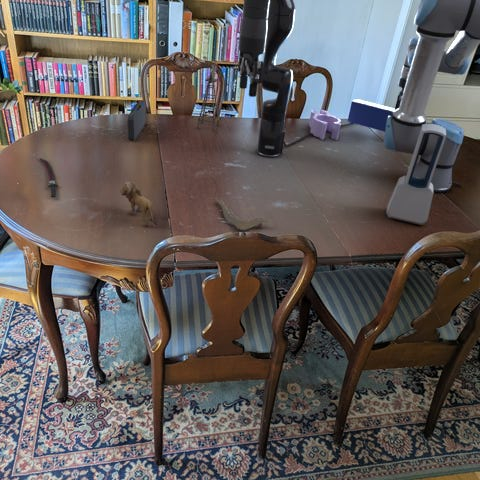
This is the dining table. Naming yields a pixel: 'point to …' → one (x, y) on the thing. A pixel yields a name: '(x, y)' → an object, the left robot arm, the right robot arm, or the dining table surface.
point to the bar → (369, 114)
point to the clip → (324, 124)
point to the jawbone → (237, 221)
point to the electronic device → (416, 183)
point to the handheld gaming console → (136, 120)
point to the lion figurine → (137, 201)
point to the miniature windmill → (210, 80)
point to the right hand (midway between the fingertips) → (394, 131)
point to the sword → (52, 181)
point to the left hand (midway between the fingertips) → (247, 92)
